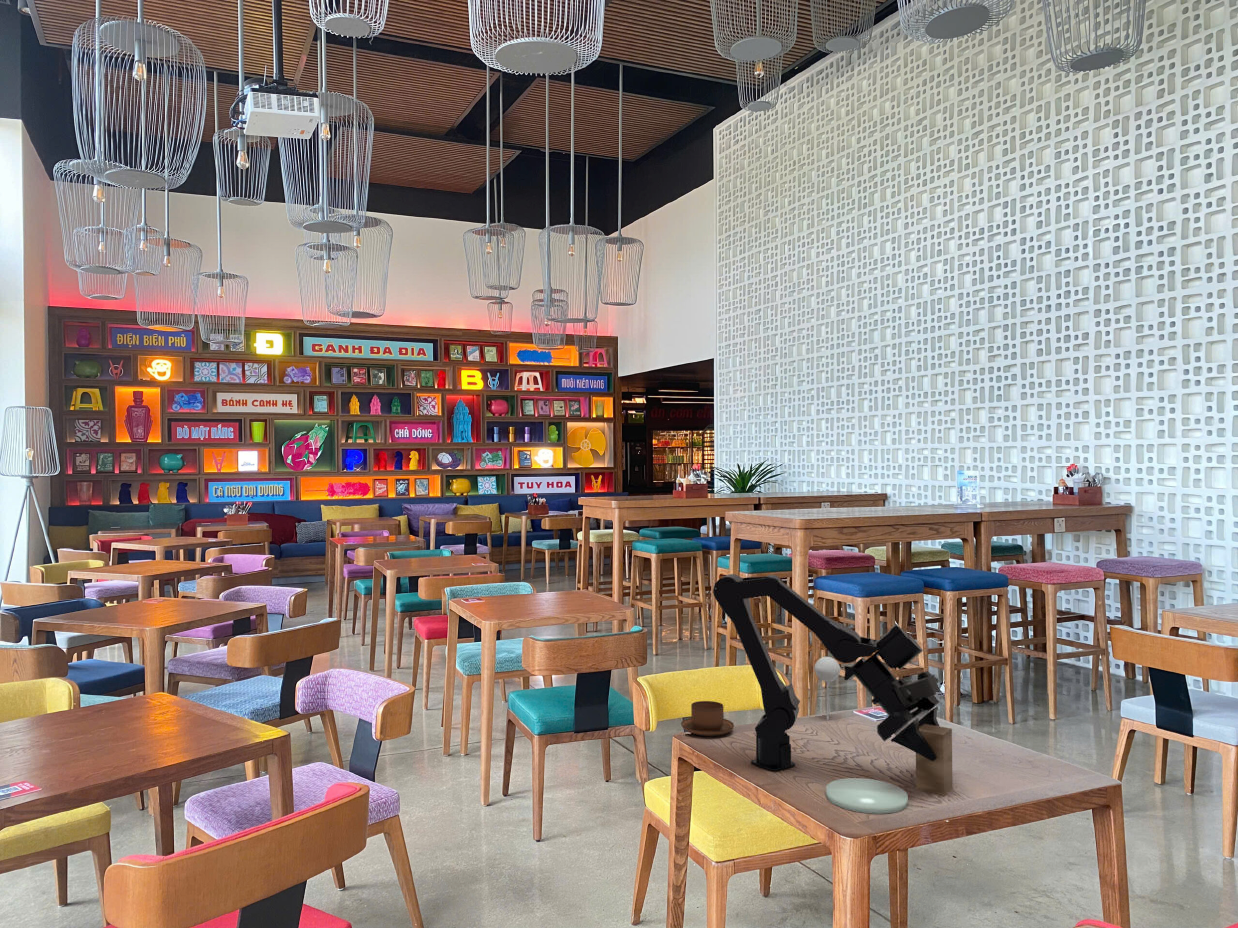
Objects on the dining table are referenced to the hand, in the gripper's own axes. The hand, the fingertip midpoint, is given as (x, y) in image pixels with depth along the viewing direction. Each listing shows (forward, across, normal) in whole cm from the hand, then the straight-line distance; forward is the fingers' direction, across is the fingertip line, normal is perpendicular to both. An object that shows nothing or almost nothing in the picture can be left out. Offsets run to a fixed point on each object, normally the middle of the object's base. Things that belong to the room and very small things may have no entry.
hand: (941, 754), depth 152 cm
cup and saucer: (-33, +5, +43) cm, 54 cm away
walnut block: (+4, 0, +6) cm, 7 cm away
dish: (-2, -12, +11) cm, 17 cm away
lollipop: (-21, +31, +31) cm, 48 cm away
